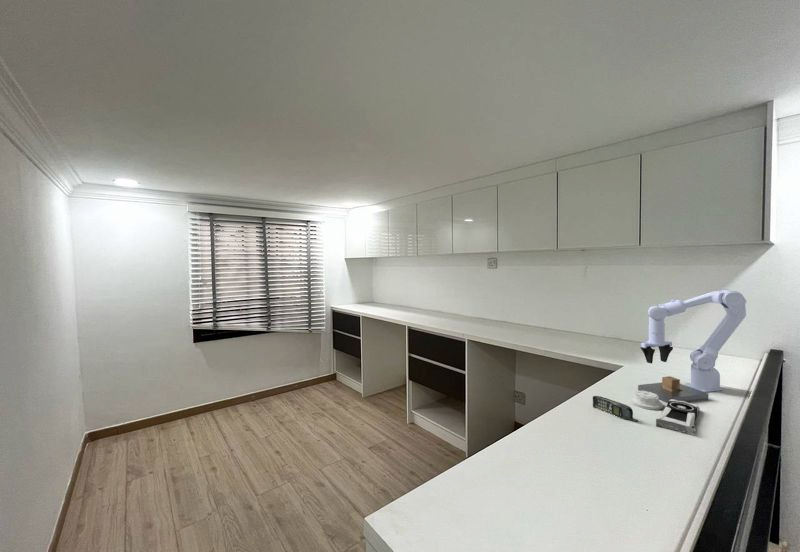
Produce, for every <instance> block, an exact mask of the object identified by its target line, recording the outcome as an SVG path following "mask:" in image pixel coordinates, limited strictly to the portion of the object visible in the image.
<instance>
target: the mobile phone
mask: <svg viewBox="0 0 800 552" xmlns="http://www.w3.org/2000/svg"><path fill="white" fill-rule="evenodd" d="M592 407H593V408H594V409H596V408H597V409H596V410H600V411H602V412H604V411H605V413H608V414H609V413H610V414H609V415H612V416H614V415H615V417H616V416H617V418H619V417H620V419H623V420H629V421H630V420H631V421H634V422H637V423H638V422H639V420H638V419H636V418H634V417H633V416H634V412H633V411H634V410H633V409H632V407H631V406H629V405H627V404H624V403H622V402H618V401H616V400H613V399H609V398H607V397H603V396H601V395H600V396H599V395H593V396H592Z"/></svg>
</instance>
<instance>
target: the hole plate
mask: <svg viewBox="0 0 800 552" xmlns="http://www.w3.org/2000/svg"><path fill="white" fill-rule="evenodd" d="M637 391H647V392H651V393H654V394H657V395H658V397H659V401H660V402H661V401H662V403H663V402H664V403H665V404H668V401H669V400H671V399H674V400H677V401H685V402H687V403H694V402H695V403H696V402H702V401H709V393H708V392H703V391H700V390H697V389H694V388H691V387H688V386H686V385H685V384H682V383H680V391H679V392H671V391H669V390H666V389H663V388H662V382H656V383H655V382H653V383H646V384H638V385H637Z"/></svg>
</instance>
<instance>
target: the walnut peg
mask: <svg viewBox="0 0 800 552" xmlns="http://www.w3.org/2000/svg"><path fill="white" fill-rule="evenodd" d="M661 379H662V380H661V381H662V382H661V383H662V388H663V389H666V390H669V391H671V392H679V391H680V384H681V379H680V378H676V377H674V376H671V375H669V376H662V378H661Z"/></svg>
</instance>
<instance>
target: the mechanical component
mask: <svg viewBox="0 0 800 552" xmlns="http://www.w3.org/2000/svg"><path fill="white" fill-rule="evenodd" d="M630 402H631V404H632V405H634V406H636V407H638V408H642V409H645V410H652V411H660V410H663V408H664V404H663V402H661V400H659V397H658V395H657V394H654V393H651V392H647V391H638V390H637V391H634V396H632V397H630Z"/></svg>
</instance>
